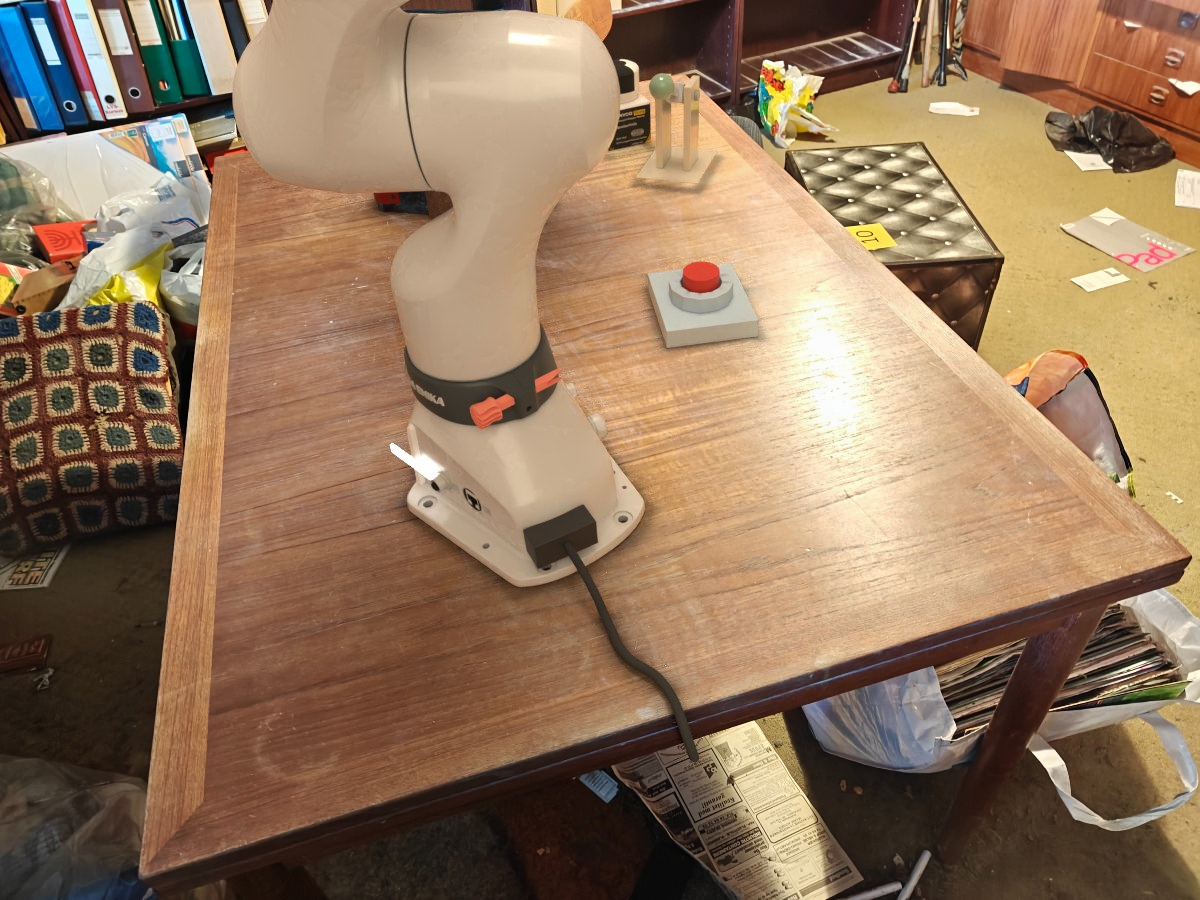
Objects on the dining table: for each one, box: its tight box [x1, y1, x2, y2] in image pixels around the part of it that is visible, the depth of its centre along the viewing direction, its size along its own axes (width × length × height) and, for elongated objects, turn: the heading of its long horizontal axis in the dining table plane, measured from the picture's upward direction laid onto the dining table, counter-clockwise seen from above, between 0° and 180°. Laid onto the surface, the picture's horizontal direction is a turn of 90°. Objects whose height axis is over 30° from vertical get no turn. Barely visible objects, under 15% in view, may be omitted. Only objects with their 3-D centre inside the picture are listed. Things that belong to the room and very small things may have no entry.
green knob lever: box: [648, 72, 686, 106], centre depth 112 cm, size 11×3×3 cm, turn 160°
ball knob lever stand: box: [635, 73, 718, 185], centre depth 119 cm, size 11×9×13 cm
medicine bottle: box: [607, 58, 652, 152], centre depth 127 cm, size 7×7×12 cm
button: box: [682, 260, 720, 293], centre depth 94 cm, size 4×4×2 cm
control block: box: [646, 262, 760, 349], centre depth 95 cm, size 12×10×4 cm
